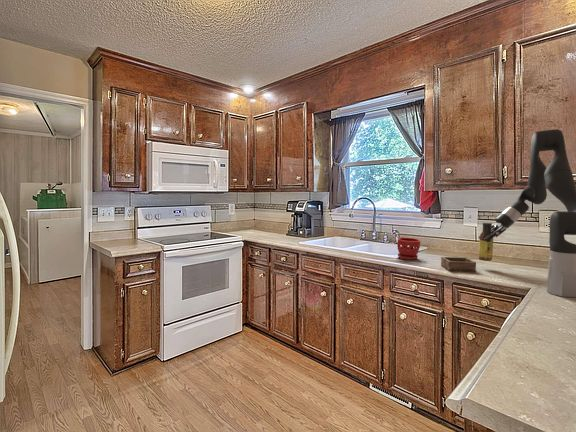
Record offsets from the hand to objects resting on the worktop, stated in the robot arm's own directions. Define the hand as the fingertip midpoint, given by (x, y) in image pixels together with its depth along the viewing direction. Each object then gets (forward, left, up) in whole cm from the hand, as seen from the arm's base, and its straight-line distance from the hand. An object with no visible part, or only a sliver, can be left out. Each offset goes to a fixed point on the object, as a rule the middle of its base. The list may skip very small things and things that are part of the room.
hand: (482, 239), depth 171 cm
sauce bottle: (0, -2, -11) cm, 11 cm away
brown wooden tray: (-2, +13, -16) cm, 20 cm away
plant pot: (+22, +33, -16) cm, 42 cm away
